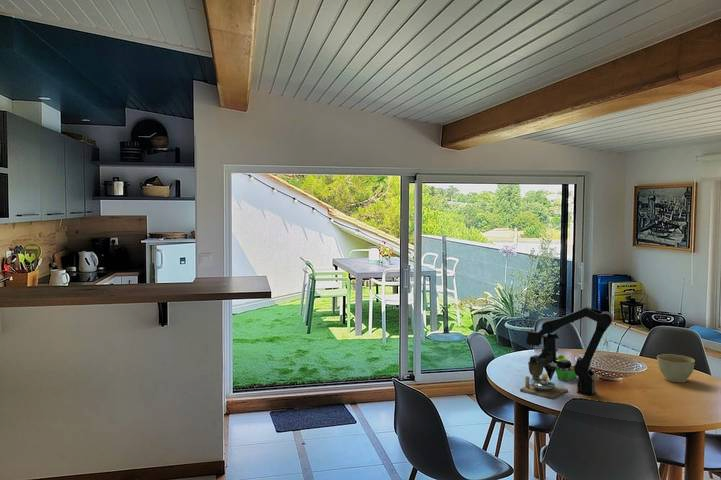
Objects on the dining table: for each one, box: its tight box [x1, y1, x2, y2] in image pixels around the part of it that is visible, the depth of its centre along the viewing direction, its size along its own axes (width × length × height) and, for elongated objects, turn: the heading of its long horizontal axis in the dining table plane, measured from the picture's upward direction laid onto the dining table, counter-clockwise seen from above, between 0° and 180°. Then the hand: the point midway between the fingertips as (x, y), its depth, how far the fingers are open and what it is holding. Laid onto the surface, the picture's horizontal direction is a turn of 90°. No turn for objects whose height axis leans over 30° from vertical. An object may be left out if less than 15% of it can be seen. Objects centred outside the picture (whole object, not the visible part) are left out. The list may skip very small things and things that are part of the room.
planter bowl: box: [656, 353, 696, 383], centre depth 263 cm, size 16×16×11 cm
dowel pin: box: [524, 375, 530, 387], centre depth 251 cm, size 2×2×5 cm
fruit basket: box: [555, 354, 578, 381], centre depth 268 cm, size 11×9×11 cm
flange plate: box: [531, 373, 556, 390], centre depth 249 cm, size 14×10×3 cm
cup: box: [527, 360, 544, 380], centre depth 267 cm, size 8×7×8 cm
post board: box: [519, 380, 569, 400], centre depth 248 cm, size 16×15×5 cm
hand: (550, 379), depth 253 cm, fingers closed
